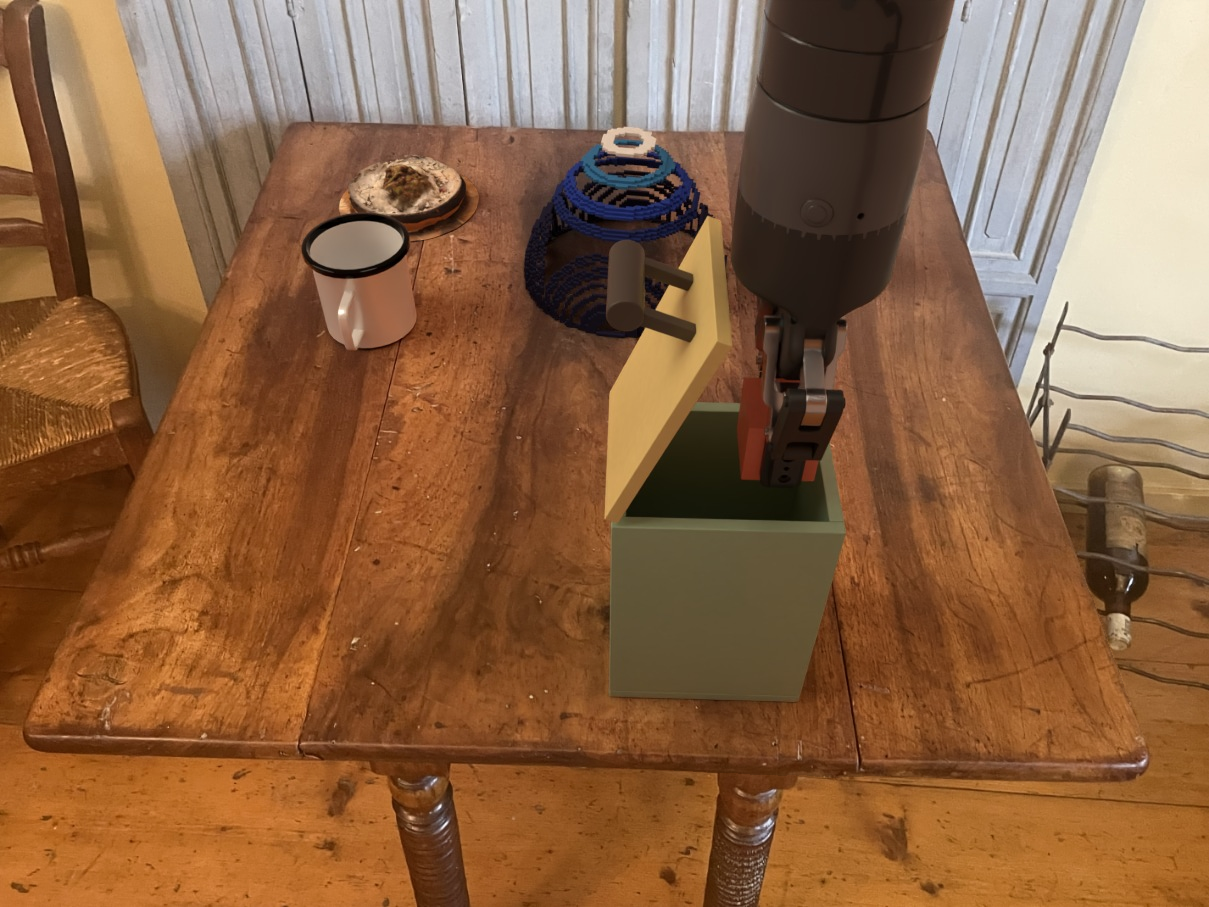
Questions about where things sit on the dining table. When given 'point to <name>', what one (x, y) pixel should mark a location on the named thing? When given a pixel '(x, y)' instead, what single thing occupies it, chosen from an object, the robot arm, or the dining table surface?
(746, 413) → the block
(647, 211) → the decorative bowl
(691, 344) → the lid
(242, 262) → the dining table surface
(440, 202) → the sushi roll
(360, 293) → the mug
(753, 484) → the green open box
